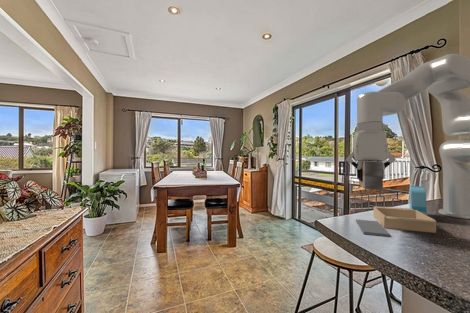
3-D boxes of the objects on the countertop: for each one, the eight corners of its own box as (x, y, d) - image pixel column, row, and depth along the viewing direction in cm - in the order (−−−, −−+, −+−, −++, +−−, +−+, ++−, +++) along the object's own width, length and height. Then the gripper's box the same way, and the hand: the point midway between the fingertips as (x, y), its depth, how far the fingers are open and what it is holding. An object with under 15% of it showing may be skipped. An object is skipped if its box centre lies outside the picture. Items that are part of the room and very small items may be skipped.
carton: (414, 218, 83) (414, 208, 83) (439, 234, 66) (439, 222, 66) (372, 215, 88) (372, 206, 88) (386, 229, 71) (385, 218, 72)
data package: (427, 220, 81) (425, 189, 81) (411, 218, 83) (410, 188, 84) (424, 214, 90) (423, 186, 90) (410, 212, 93) (409, 185, 93)
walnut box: (374, 185, 77) (374, 161, 77) (382, 189, 68) (382, 161, 68) (359, 185, 79) (358, 161, 79) (364, 189, 69) (364, 161, 69)
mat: (377, 223, 78) (377, 221, 78) (389, 236, 65) (389, 234, 65) (355, 221, 81) (355, 219, 81) (363, 234, 68) (363, 231, 68)
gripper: (395, 128, 74) (395, 180, 74) (341, 131, 80) (341, 179, 80) (403, 125, 67) (404, 183, 67) (343, 128, 73) (344, 181, 73)
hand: (370, 180), depth 73 cm, fingers closed on walnut box, 5 cm apart
